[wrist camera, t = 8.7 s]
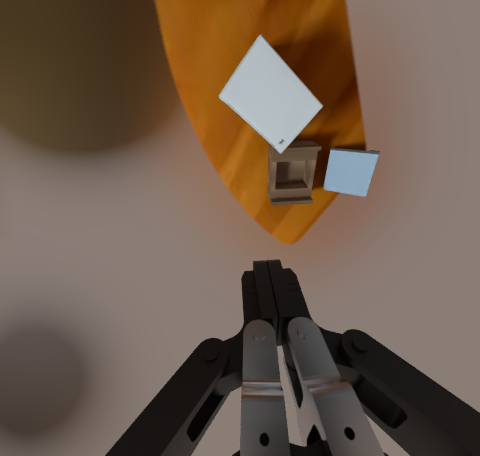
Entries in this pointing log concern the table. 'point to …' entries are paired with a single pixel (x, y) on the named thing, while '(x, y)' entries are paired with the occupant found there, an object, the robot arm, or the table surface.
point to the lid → (350, 171)
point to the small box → (270, 95)
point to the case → (292, 173)
